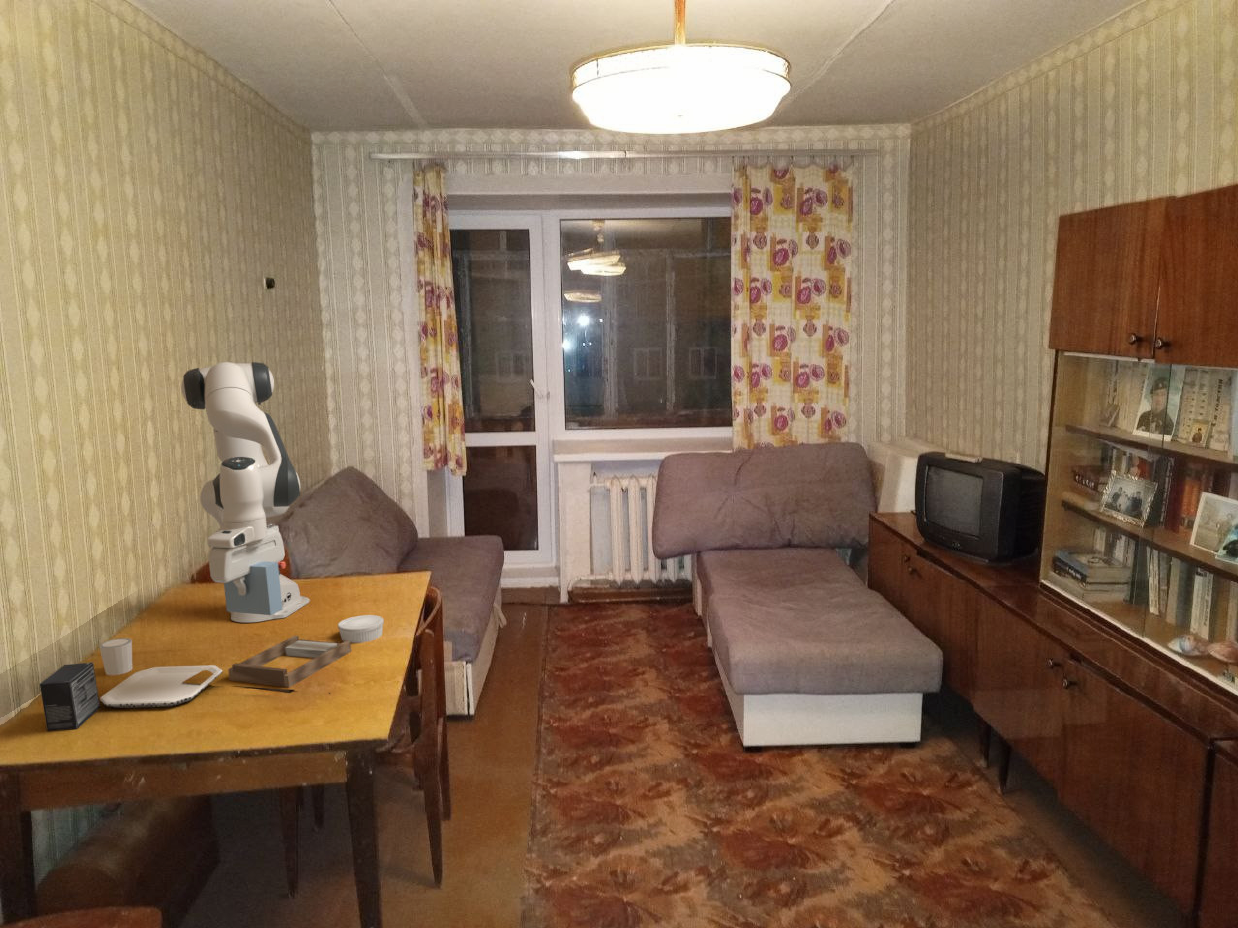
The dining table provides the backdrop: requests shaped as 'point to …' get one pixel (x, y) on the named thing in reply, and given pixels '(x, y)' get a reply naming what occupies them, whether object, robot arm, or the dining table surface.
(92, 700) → the small box
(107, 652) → the white cup
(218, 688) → the dining table surface
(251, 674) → the frame
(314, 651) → the offcut upper
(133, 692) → the plate
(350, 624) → the ramekin
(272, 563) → the slate blue block
